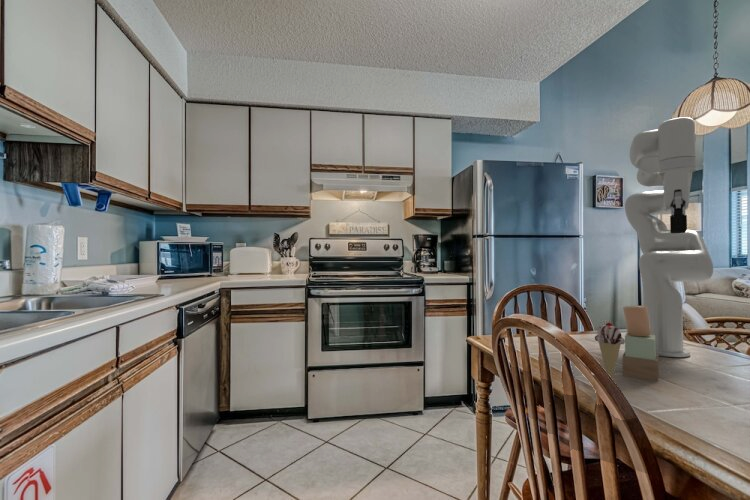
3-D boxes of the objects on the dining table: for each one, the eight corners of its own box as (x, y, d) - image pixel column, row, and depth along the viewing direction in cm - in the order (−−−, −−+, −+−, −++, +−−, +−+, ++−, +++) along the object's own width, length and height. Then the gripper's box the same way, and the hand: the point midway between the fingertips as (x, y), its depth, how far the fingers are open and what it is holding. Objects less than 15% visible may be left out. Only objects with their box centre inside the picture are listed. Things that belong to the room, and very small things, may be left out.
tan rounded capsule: (626, 333, 97) (622, 306, 98) (649, 332, 95) (645, 305, 95) (628, 336, 93) (624, 308, 93) (653, 335, 90) (648, 307, 91)
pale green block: (627, 351, 97) (626, 332, 97) (655, 354, 94) (655, 335, 94) (625, 356, 93) (624, 336, 93) (655, 360, 89) (654, 339, 89)
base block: (625, 369, 98) (625, 350, 98) (658, 374, 94) (658, 354, 94) (622, 376, 93) (622, 356, 93) (657, 381, 88) (657, 360, 88)
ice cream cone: (630, 393, 81) (628, 324, 81) (601, 391, 82) (600, 324, 82) (618, 384, 86) (617, 320, 87) (591, 383, 87) (590, 319, 88)
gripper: (659, 174, 105) (660, 234, 105) (657, 163, 92) (659, 231, 92) (694, 170, 101) (695, 233, 100) (697, 157, 87) (699, 229, 87)
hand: (678, 232), depth 96 cm, fingers open, 9 cm apart
